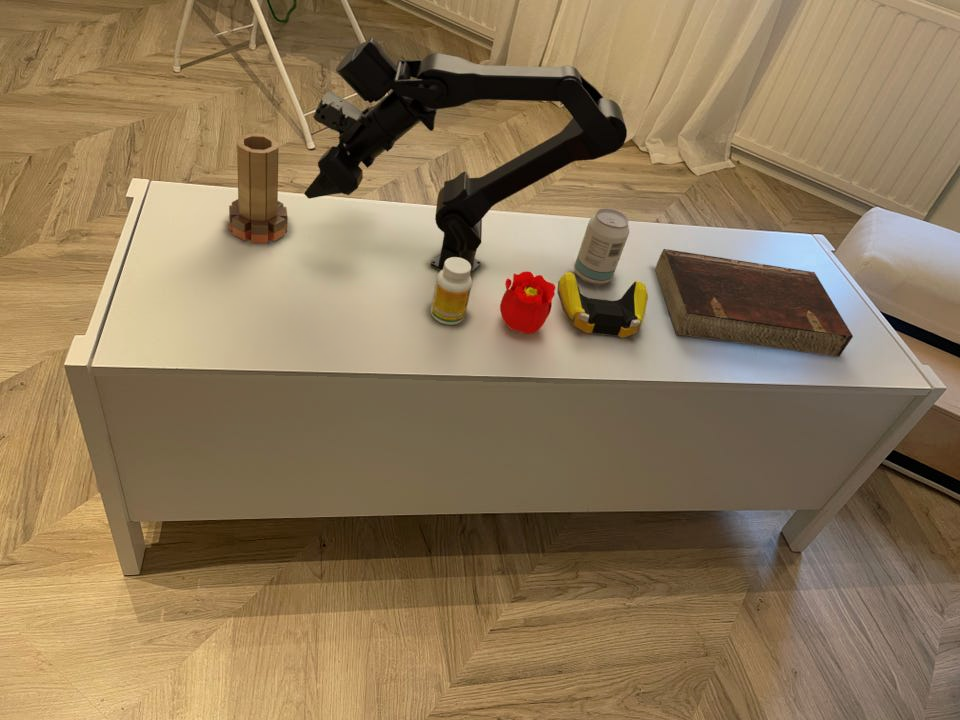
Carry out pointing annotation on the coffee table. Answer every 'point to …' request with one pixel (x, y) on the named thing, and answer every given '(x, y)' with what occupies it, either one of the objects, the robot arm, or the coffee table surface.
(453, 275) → the supplement bottle
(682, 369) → the coffee table surface
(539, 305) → the flower
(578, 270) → the beverage can
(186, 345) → the coffee table surface
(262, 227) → the ring stack
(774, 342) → the book
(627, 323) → the gaming controller
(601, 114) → the robot arm
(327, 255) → the coffee table surface
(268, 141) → the tall ring
